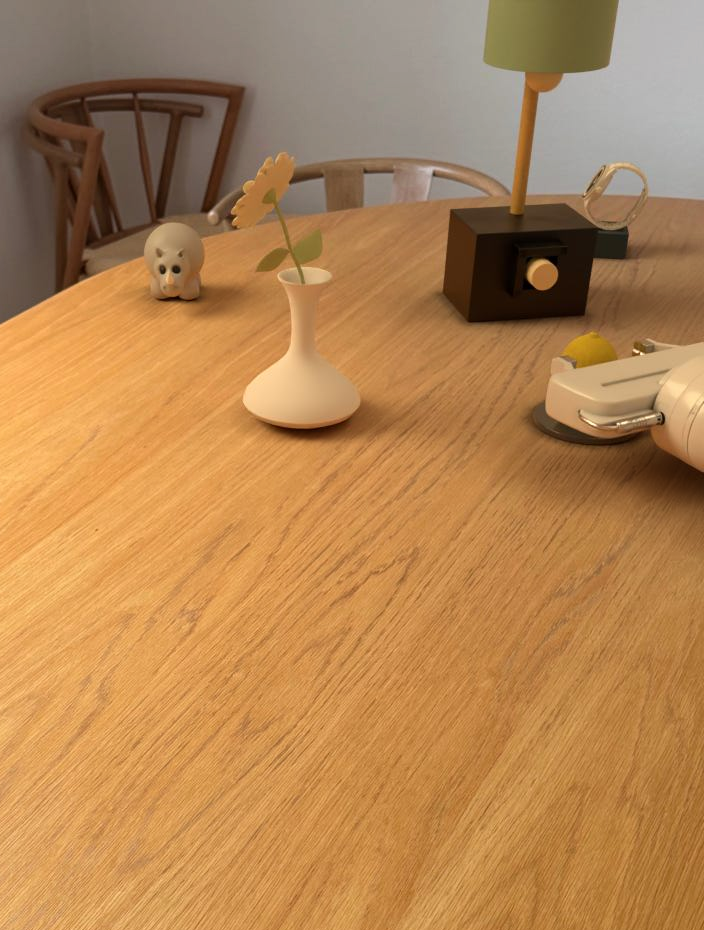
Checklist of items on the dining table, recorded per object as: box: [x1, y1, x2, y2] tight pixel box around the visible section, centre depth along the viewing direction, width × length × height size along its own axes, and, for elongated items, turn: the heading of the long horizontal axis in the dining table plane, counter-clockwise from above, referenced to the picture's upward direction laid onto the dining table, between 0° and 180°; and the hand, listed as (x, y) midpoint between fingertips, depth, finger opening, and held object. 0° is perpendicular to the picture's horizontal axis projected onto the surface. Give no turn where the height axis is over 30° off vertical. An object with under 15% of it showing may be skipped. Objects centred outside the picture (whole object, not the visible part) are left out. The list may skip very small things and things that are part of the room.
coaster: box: [532, 400, 639, 446], centre depth 121 cm, size 10×10×1 cm
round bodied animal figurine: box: [143, 221, 206, 301], centre depth 147 cm, size 7×12×8 cm, turn 176°
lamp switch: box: [524, 257, 558, 290], centre depth 139 cm, size 2×3×3 cm
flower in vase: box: [230, 151, 362, 430], centre depth 115 cm, size 13×11×25 cm
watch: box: [581, 161, 649, 260], centre depth 161 cm, size 6×8×11 cm
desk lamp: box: [442, 0, 620, 323], centre depth 138 cm, size 13×14×34 cm
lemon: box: [560, 331, 618, 368], centre depth 119 cm, size 6×6×8 cm
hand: (598, 355), depth 117 cm, fingers open, 8 cm apart
